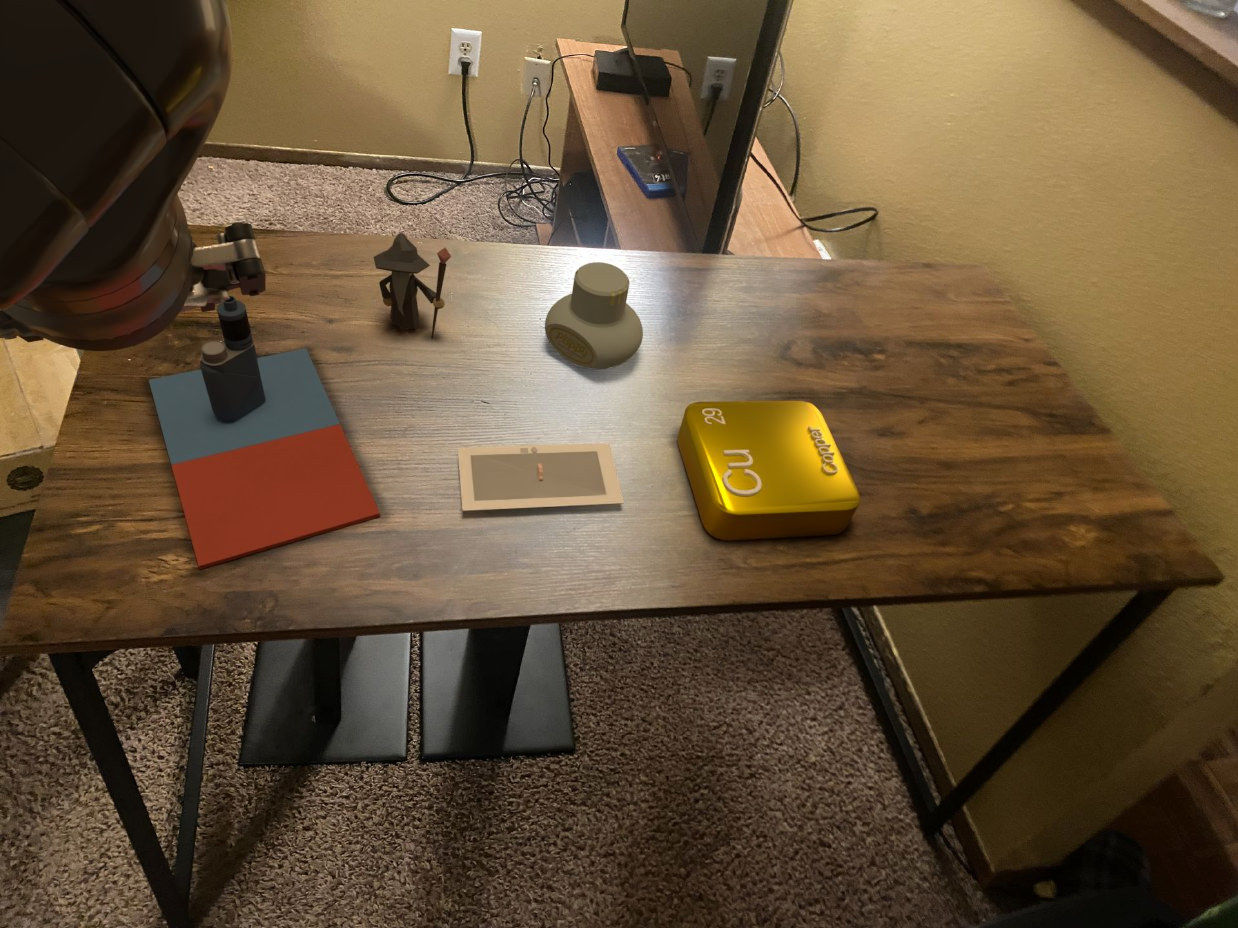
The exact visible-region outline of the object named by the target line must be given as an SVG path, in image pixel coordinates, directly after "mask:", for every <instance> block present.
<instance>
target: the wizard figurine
mask: <svg viewBox="0 0 1238 928" xmlns="http://www.w3.org/2000/svg"><path fill="white" fill-rule="evenodd" d="M436 254H437V257H438V259H439V262H438V271H437V279H436V280H437V281H436V290H433V289H431V288H429V286H427V285H426V284H425V283H424V282H422V281H421V280H420V279H419V278H418V277H417V276H415V275H417V274H419V273H421V272H422V271H424V270H427V269H428V268H429V267H430V266H431V264H430V263H428V262H427V260H425V259H424V258H423V257H421V255H420V254H418V248H417V246H415V245H414V244H413V243H412V242H411V240H410V239H408V237H407V235H405V233H404V232H401V233H398V234H397V235H396V236H395V238H394V239H393V242H392V245H391V246H390V247H389V248H388V249H387V250H384V251H382V252H380V253H377V254H376V255H375V256H373V262H374V265H375V269H378V270H383V271H388V272H391V273H390V275H388V276H386V277H385V278H382V279H381V280H380V281H379V282H378V284H379V288H380V294H381V297H382V303H383V305H384V306H386V307H390V314H389V319H390V322H391V330H392V331H395V332H397V333H398V332H400V330H407V333H408V334H411V333H412V334H413V333H417V330H418V329H417V328H418V327H419V326H420V325H421V320H420V313H419V305H418V298H417V296H418V291H419V290H420V291H421V293H422V294H423V295H424V296H425V298H426V299H427V301H428V302H429V303H430V304H432V305H433V307H434V311H433V318H432V327H431V337H430V338H431V339H434V336H435V335H434V334H435V328H436V324H437V317H438V311H439V310H441V309H443V308H444V307H445V305H446V304H445V300H444V299H443V298H442V297H441V295H442V291H443V290H442V289H443V284H444V281H445V275H446V269H447V262H448V261H449V260H450V259H451V258H452V255H451V254H450V252H449V251H448V249H447V247H443V248H442V249H440V250H439V251H438V252H437V253H436ZM387 285H389V287H387ZM418 289H419V290H418Z"/></svg>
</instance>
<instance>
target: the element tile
mask: <svg viewBox="0 0 1238 928" xmlns="http://www.w3.org/2000/svg"><path fill="white" fill-rule="evenodd" d="M677 445H678V448H679V451H680V455H681V458H682V461H683V464H684V468H685V470H686V475H687V477H688V481H689V484H690V487H691V490H692V494H693V497H694V500H695V503H696V507H697V511H698V513H699V517H700V520H701V524H702V525H703V527H704V530H705V531H706V532H707V533H708V535H710V536H711V537H713V538H715V539H717V540H722V541H728V542H729V541H744V540H763V539H782V538H800V537H801V538H802V537H803V538H805V537H822V536H823V537H824V536H835V535H838V534H840V533H842V532H844V531H845V530H846V529H847V527H848V525H849V523H850V521H851V520H852V518H853V516H854V514H855V513H856V511H857V509H858V508H859V505H860V503H861V495H860V492H859V488H858V487H857V485H856V483H855V481H854V478H853V477H852V475H851V472H850V470H849V467H848V466H847V464H846V462H845V459H844V457H843V456H842V455H843V454H842V453H841V451H840V449H839V446H838V445H837V443H836V440H835V439H834V436H833V434H832V432H831V430H830V428H829V426H828V424H827V422H826V419H825V417H824V415H823V413H822V412H821V411H820V409H818V408H817V406H815V404H813V403H811V402H808V401H804V400H798V399H797V400H736V401H735V400H731V401H730V400H727V401H724V400H723V401H721V400H720V401H719V400H718V401H695V402H693V403H690V404H689V405H688V406H686V407H685V409H684V413H683V417H682V420H681V423H680V427H679V430H678V434H677Z"/></svg>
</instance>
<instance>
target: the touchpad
mask: <svg viewBox="0 0 1238 928" xmlns="http://www.w3.org/2000/svg"><path fill="white" fill-rule="evenodd" d="M612 452H613V451H612V448H611V443H609V442H599V443H598V442H597V443H568V444H566V443H565V444H562V443H561V444H536V445H535V444H534V445H533V444H531V445H530V444H529V445H502V446H501V445H500V446H499V445H497V446H494V445H493V446H465V447H464V446H463V447H457V456H458V458H457V459H458V469H459V470H458V471H459V472H458V473H459V483H460V496H461V511H462V512H466V511H485V510H486V511H487V510H488V511H489V510H510V509H528V508H529V509H531V508H552V507H572V506H574V507H575V506H576V507H577V506H595V505H616V504H624V503H625V502H624V498H623V493H622V490H621V489H622V488H621V486H620V481H619V477H618V473H617V469H616V465H615V459H614V456H613V453H612Z"/></svg>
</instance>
